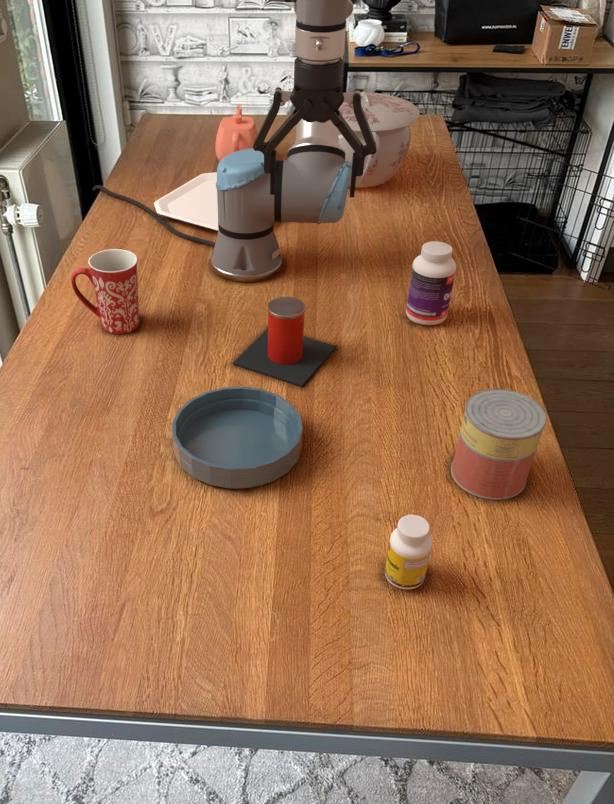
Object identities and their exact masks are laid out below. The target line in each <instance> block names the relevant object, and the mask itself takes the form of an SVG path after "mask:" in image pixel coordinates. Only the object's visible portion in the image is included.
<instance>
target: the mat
mask: <svg viewBox="0 0 614 804" xmlns="http://www.w3.org/2000/svg"><path fill="white" fill-rule="evenodd" d="M335 349H337V346H336V345H334V344H330V343H326V342H324V341H320V340H317V339H313V338H310V337H307V336H304V337H303V356H302V358H301V359H300V360H299V361H298V362H296V363H293V364H287V365H284V364H278V363H275V362H273V361H271V360H270V359H269V357H268V328H267V329H266V330H265V331H264V332H263V333H261V335H259V337H257V338H256V339H255V340H254V341H253V342H252V343H251V344H250V345H249V346H248V348H246V349H245V351H243V352H242V353H241V354H240V355H239V356H238V357H237V358H236V359H235V360H234V361H233V362H232V365H233V366H235V367H239V368H242V369H246V370H247V371H248V370H249V371H252V372H255V373H257V374H261V375H264V376H268V377H270V378H274V379H277V380H280V381H282V382H286V383H289V384H292V385H295V386H298V387H301V388H302V387H304V385H306V383H307V382H308V381H309V380H310V378H311V377H312V376H313V375H314V374H315V373H316V371H318V369H319V368H320V367H321V366H322V365H323V363H324V362H325V361H326V360H327V359H328V358H329V356H330V355H331V354H332V353H333V352H334V351H335Z"/></svg>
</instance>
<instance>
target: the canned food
mask: <svg viewBox="0 0 614 804" xmlns="http://www.w3.org/2000/svg"><path fill="white" fill-rule="evenodd" d="M547 420H548V419H547V413H546V411H545V409H544V408H543V407H542V405H540V404H539V403H538V402H537V401H536V400H535V399H534V398H532V397H530V396H528V395H526V394H523V393H521V392H518V391H515V390H510V389H506V388H505V389H504V388H492V389H491V388H490V389H484V390H482V391H478V392H476V393H474V394H472V395H470V397H469V398H468V399H467V400H466V403H465V406H464V413H463V417H462V421H461V426H460V429H459V434H458V438H457V443H456V447H455V451H454V455H453V460H452V462H451V466H450V474H451V477H452V479H453V481H455V483H456V485H458V487H460V488H461V489H462V490H464V491H465V492H466V493H468V494H470V495H473V496H475V497H477V498H482V499H485V500H490V501H491V500H492V501H493V500H494V501H502V500H508V499H511V498H513V497H515V496H518V495H519V494H520V493H522V491H524V489H525V487H526V485H527V481H528V480H527V479H528V477H529V473H530V471H531V467H532V464H533V461H534V459H535V456H536V452H537V449H538V446H539V443H540V440H541V437H542V434H543V431H544V428H546V427H545V426H546V424H547Z"/></svg>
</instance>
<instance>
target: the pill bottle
mask: <svg viewBox="0 0 614 804" xmlns="http://www.w3.org/2000/svg"><path fill="white" fill-rule="evenodd" d="M452 255H453V247H452V246H451V244H449V243H446V242H443V241H439V240H438V241H437V240H435V241H434V240H433V241H428V242H425V243H424V244H423V245H422V246H421V251H420V254H419V255H417V256H416V257H415V258H414V259H413V262H412V267H411V273H410V280H409V288H408V295H407V300H406V308H405V314H406V316H407V318H408V319H409V320H410V321H412V322H413V323H415V324H418V325H422V326H435V325H439V324H442V323H443V322H444V321H446V319H447V318H448V313H449V309H450V303H451V298H452V294H453V293H452V292H453V288H454V282H455V278H456V272H457V263H456V262H455V260H454V259H453V258H452Z"/></svg>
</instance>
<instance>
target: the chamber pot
mask: <svg viewBox="0 0 614 804" xmlns="http://www.w3.org/2000/svg"><path fill="white" fill-rule="evenodd" d="M349 92H350V91H349ZM349 92H346V93H349ZM360 92H361V105H362V108H363V111H364V113H365V116H366V119H367V121H368V124H369V126H370V129H371V132H372V134H373V137H374V139H375V142H376V148H377V151H376V153H375V154H374V155H372V154H370V155H367V156H366V157H365V160H364V171H363V175H362V176H356V184H355V189H366V188H373V187H377V186H381V185H383V184H385V183H388V182H389V181H391V179H392V178H393V177H394V175H395V174H396V173H397V171H398V170H399V169H400V167H401V166H402V165H403V163H404V162H405V160H406V158H407V155H408V153H409V149H410V147H411V140H412V132H411V127H410V125H412V124H414V123H416V122H417V120H418V119H419V118H420V116H421V113H420V109H419V108H418V107H417V106H416V105H415V104H414V103H412V102H410V101H408V100H407V99H404V98H401V97H399V96H394V95H391V94H386V93H379V92H372V91H360ZM340 113H341V114H342V116H343V118H344V119H345V121H346V122H347V123H348V125H349V126H350V127H351V129H352V130H353V132H354V133H355V134H356V136H357V137H358V138H359V140H360V141H361V143H362V144H363V145H366V142H365V140H364V137H363V135H362V132H361V130H360V127H359V124H358V122H357V119H356V117H355V114H354V109H353V108H350V107H349V106H348V103H347V102H343V104H342V105H341V106H340ZM338 143H339V145H340V146H341V147H342V148H343V149H344V151H345V162H346V161H349V162H351V163H352V160H353V152H354V150H353V149H352V148H351V146H350V145H349V143H348V142H347V141H346V139H345V138H344V137H343V135H342V134H341V133H340V131H339V141H338ZM351 171H352V169H351ZM350 183H351V175H350V181H349V186H348V188H350Z"/></svg>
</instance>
